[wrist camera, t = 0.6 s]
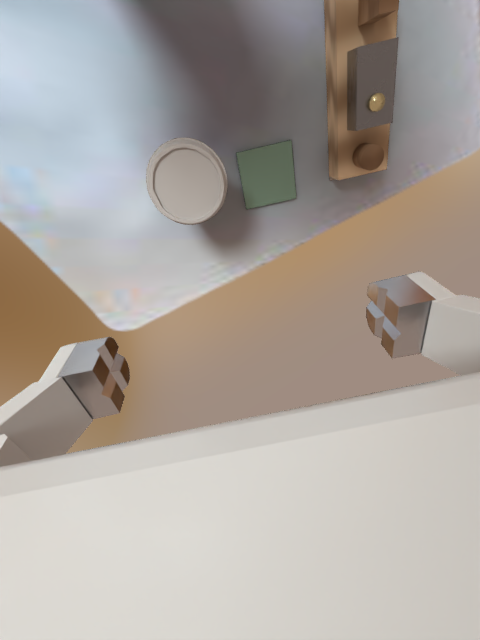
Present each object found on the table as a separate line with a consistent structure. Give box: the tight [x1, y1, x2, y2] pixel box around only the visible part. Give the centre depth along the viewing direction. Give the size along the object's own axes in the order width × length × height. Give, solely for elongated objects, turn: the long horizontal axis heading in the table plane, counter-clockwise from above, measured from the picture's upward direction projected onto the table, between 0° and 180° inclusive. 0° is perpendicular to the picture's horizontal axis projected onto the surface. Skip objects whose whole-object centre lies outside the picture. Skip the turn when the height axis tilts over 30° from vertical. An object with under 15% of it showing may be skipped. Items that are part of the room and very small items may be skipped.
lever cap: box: [347, 37, 398, 131], centre depth 37 cm, size 8×4×4 cm, turn 11°
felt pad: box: [236, 140, 296, 209], centre depth 46 cm, size 8×8×1 cm
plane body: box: [324, 0, 399, 181], centre depth 38 cm, size 21×7×9 cm, turn 11°
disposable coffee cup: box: [146, 138, 228, 225], centre depth 40 cm, size 10×10×12 cm
